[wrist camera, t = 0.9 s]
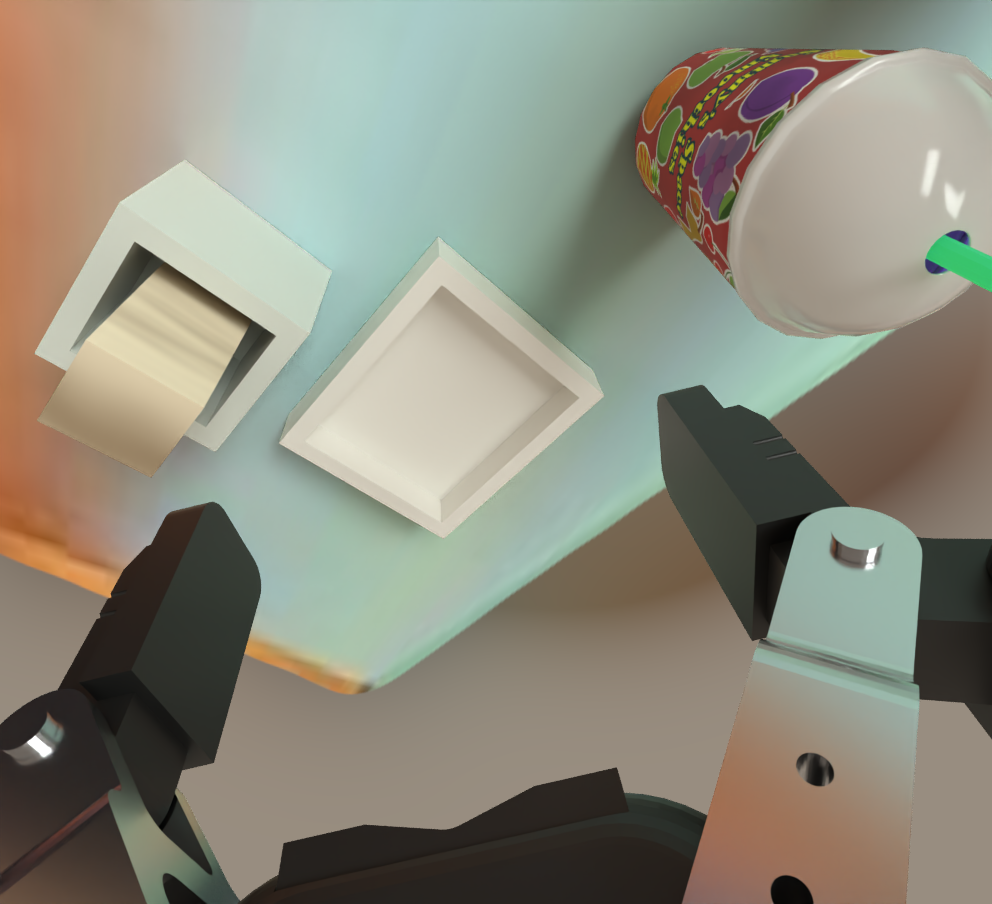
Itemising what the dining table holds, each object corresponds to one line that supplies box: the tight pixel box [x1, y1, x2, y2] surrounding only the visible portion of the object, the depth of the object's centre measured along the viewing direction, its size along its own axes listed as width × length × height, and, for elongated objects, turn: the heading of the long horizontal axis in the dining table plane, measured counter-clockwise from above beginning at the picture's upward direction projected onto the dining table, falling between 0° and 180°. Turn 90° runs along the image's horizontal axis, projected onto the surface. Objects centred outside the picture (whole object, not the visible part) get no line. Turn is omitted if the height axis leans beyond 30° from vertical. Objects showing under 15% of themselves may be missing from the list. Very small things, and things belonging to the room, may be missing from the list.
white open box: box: [34, 160, 332, 452], centre depth 29 cm, size 8×8×8 cm
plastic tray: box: [279, 237, 604, 539], centre depth 36 cm, size 14×12×3 cm
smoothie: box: [635, 48, 992, 339], centre depth 22 cm, size 8×8×20 cm
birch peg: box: [37, 262, 252, 477], centre depth 26 cm, size 4×4×12 cm
